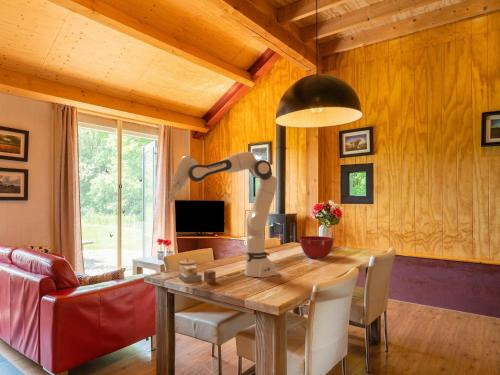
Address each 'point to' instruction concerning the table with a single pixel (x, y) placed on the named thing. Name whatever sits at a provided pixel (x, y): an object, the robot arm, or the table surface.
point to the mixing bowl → (316, 246)
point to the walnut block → (209, 276)
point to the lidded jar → (186, 264)
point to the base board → (190, 277)
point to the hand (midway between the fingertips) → (169, 201)
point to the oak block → (190, 270)
